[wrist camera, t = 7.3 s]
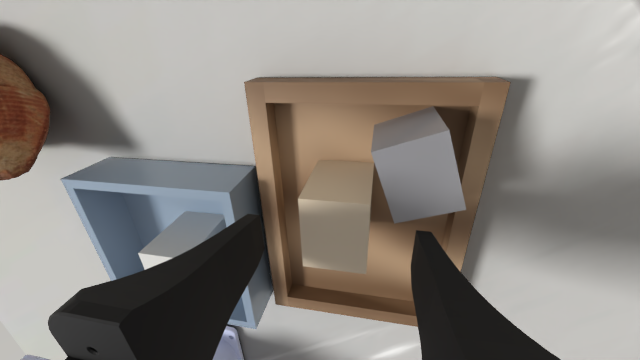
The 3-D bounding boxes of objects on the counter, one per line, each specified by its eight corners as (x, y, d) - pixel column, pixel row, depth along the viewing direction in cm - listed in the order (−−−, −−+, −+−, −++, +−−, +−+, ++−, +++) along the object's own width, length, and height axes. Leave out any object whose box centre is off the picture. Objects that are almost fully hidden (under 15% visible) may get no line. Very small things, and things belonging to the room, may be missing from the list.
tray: (440, 309, 21) (444, 330, 19) (282, 286, 23) (275, 304, 21) (496, 76, 13) (510, 82, 12) (257, 77, 16) (244, 82, 14)
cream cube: (370, 221, 18) (366, 274, 14) (320, 216, 18) (302, 266, 14) (374, 162, 16) (370, 204, 12) (318, 159, 17) (298, 198, 13)
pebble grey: (235, 258, 22) (202, 308, 18) (197, 253, 22) (157, 301, 18) (225, 215, 20) (186, 259, 16) (185, 211, 20) (138, 253, 17)
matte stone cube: (447, 169, 15) (466, 209, 12) (392, 182, 16) (394, 223, 13) (433, 105, 14) (449, 129, 11) (374, 124, 15) (370, 152, 12)
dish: (273, 290, 23) (256, 329, 20) (154, 272, 25) (123, 305, 22) (255, 166, 18) (229, 192, 15) (109, 157, 20) (60, 179, 17)
